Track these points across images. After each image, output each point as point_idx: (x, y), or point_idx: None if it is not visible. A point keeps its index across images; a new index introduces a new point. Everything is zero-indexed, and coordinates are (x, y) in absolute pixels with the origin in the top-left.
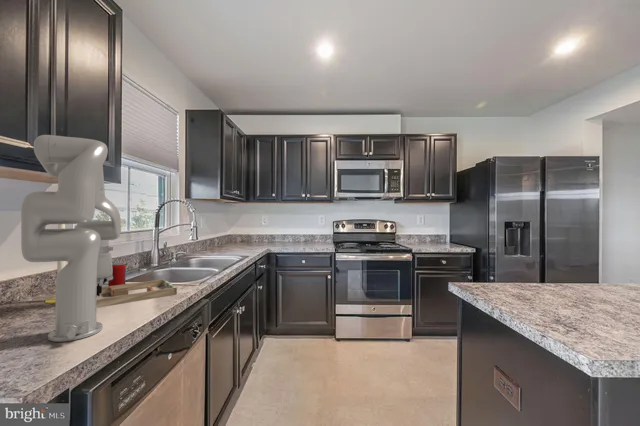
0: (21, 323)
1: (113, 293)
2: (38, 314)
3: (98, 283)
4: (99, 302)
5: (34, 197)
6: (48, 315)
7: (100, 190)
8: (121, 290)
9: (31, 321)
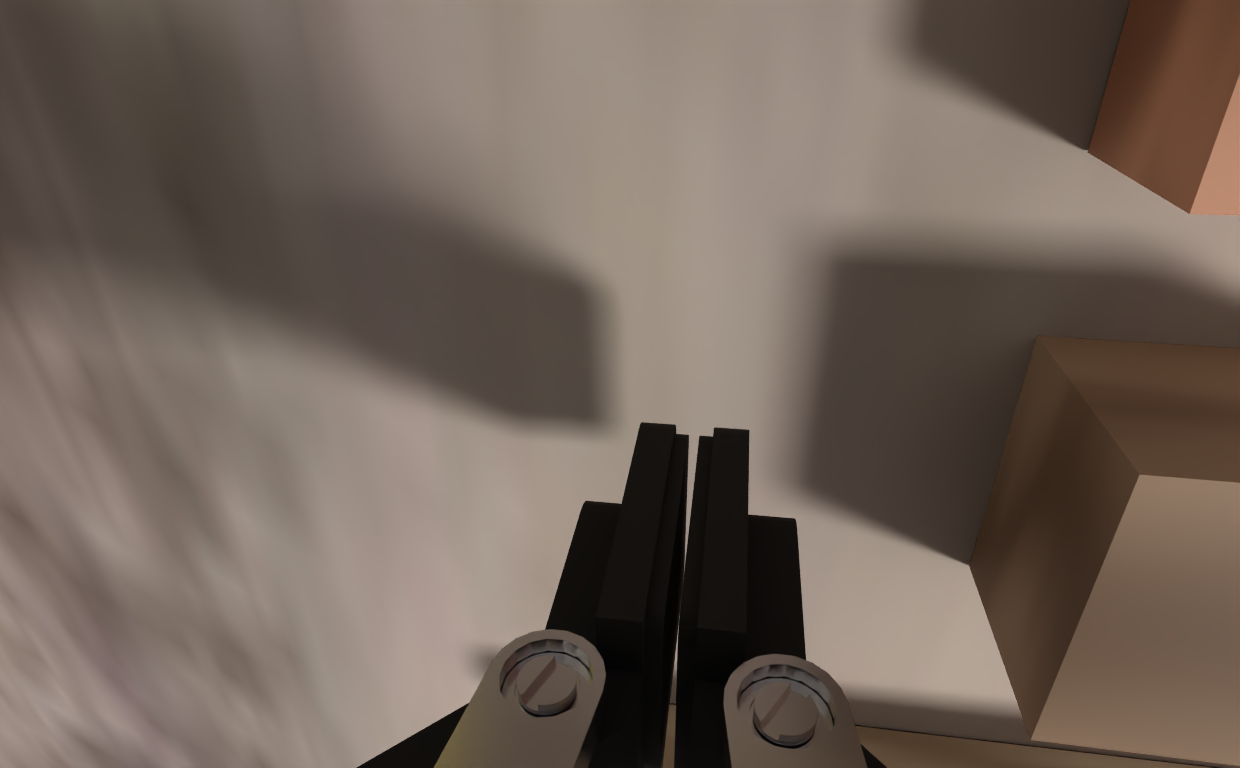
0: (14, 741)
1: (1034, 616)
2: (11, 549)
3: (712, 753)
4: None
5: None
6: (156, 662)
7: None
8: (1226, 749)
9: (77, 742)
